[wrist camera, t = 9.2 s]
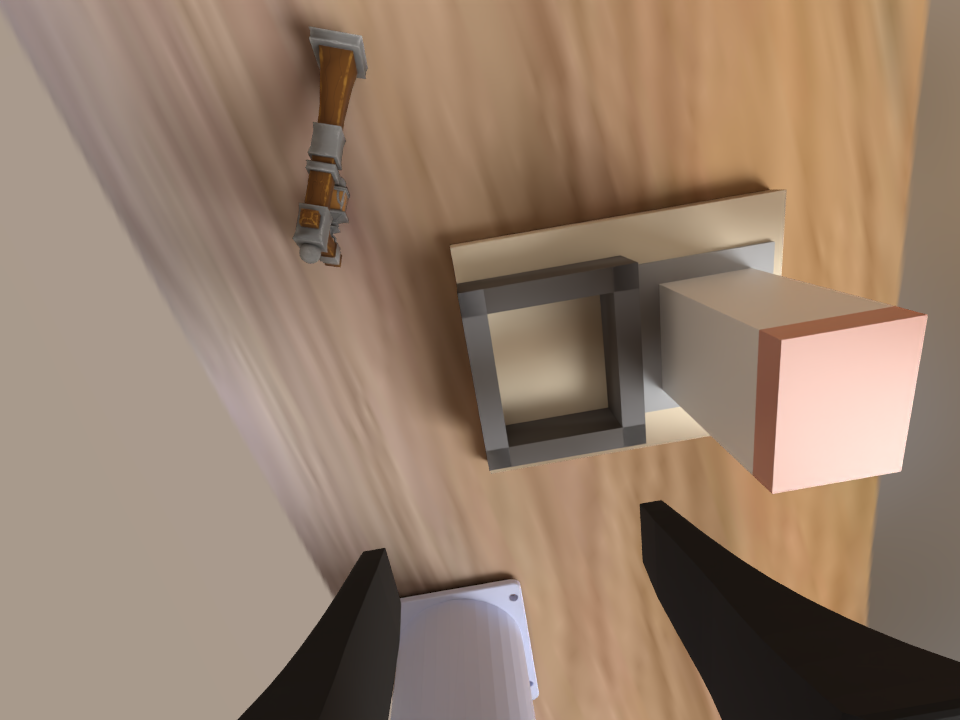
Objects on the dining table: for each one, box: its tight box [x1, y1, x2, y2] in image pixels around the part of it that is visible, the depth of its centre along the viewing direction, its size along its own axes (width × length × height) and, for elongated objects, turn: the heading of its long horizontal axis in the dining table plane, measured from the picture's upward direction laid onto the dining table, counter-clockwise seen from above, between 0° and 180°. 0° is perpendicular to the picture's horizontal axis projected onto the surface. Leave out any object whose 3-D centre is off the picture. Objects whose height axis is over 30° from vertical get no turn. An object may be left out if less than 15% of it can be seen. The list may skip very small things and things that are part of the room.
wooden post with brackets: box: [293, 26, 368, 267], centre depth 18 cm, size 2×8×4 cm, turn 172°
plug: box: [659, 268, 928, 494], centre depth 17 cm, size 5×4×8 cm
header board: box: [450, 190, 786, 474], centre depth 21 cm, size 11×14×3 cm
